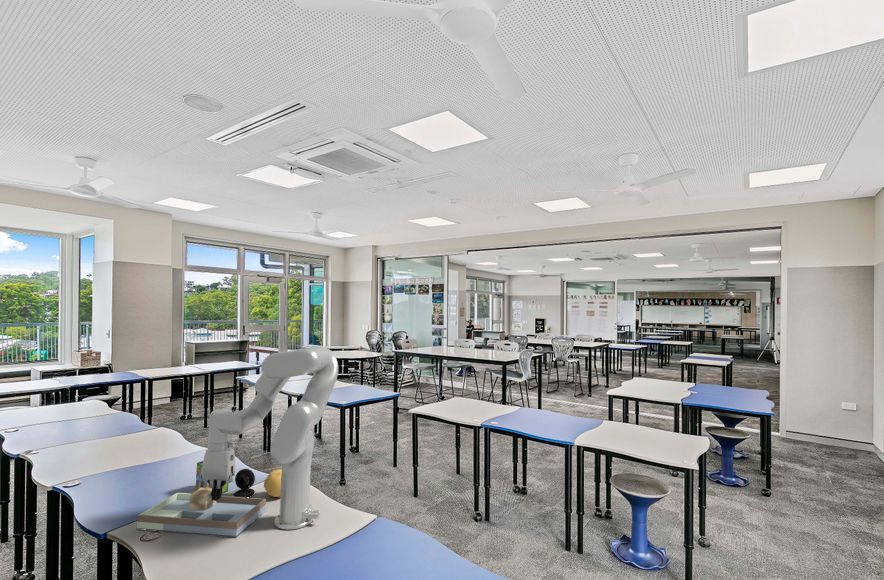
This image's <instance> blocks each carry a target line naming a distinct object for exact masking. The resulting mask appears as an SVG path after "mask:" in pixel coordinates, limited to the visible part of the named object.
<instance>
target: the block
mask: <svg viewBox="0 0 884 580" xmlns="http://www.w3.org/2000/svg"><path fill="white" fill-rule="evenodd" d="M189 494H190V502H189V509H191V510H207V509H208V508H210V507H211V506H213V505H214V504H216V501H215V500H214V501H213V500H212V496H211V494H212V489H211V488H200V489H198V490H197V491H194V492H192V493H189Z"/></svg>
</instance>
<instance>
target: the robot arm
mask: <svg viewBox="0 0 884 580" xmlns="http://www.w3.org/2000/svg"><path fill="white" fill-rule="evenodd" d="M338 363H339V362H338V359H337V357H336V355H335V354H334V352H333V351H332V350H330V349H329V348H328V347H326V346H323V345H322V346H318V345H317V346H312V347H307V348H306V347H305V348H301V349H300V348H299V349H296V350H295V349H294V350H290V351H289V350H288V351H280V352H276V353H270V354H269V355H267V356H266V357H265V358H264V359H263V361H262V363H261V366H260V367H261V373H262V374H260V376H259V377H258V379H257V380H256V381H255V383H254V387H253V388H254V390H255V391H256V395H255V397H254V399H253V400H252V401H251V402H250V404H249V405H248V406H247V407H246V408H244V409H241V410H239V411H238V410H237V411H235V412H233V411H232V410H231V409H227V408H222V409H215V410H213V411H212V412H210V414H209V418H208V419H209V420H208V421H209V422H208V434H207V435H208V437H207V449H206V450H205V451H204V452H205V453H204V455H203V460H202V461H203V466H202V477H203V479H202V480H203V481H205V482H208V484H209V485H210V488H211V489H212V494H211V496H212V500H213V501H214V500H215V501H217V500H218V499H220V498H221V496H223V493H222V488H223V486H224V485H225V484H228V483H229V484H230V483H232V482H233V481H234V478H233V477H235V476H236V455H235V449H234V447H235V445H236V444H235V443H234V442H233V435H234V436H238V435H242V434H244V433H245V432H248V431H250V430H251V429H254V428H256V427H258V426H259V424H261V423H262V421H263V420H264V419H265V418H266V417H267V415H268V414H269V413H270V412H271V410H272V408H273V406H274V404H275V401H276V397H278V394H279V393H280V392H281V390H282V389H283V388H284V386H285V385H286V384H287V382H288V381H289V380H290V379H291V378H292V377H293V378H294V377H298V376H304V375H310V374H312V376H311V378H310V380H309V382H308V383H307V386H306V388H305V391H304V393H303V395H302V397H301V399H300V400H299V401H297V402H296V403H294V404H292V405H290V406H289V407H287V409H286V410H285V412H284V413H283V415H282V418H281V419H280V422H279V424H278V426H277V429H276V431H275V434H274V436H273V438H272V441H271V445H270V450H269V451H270V455H271V459H272V460H273V461H274V463H277V464H279V465H281V469H282V475H281V495H280V497H279V498H280V500H279V514H278V515H276V517H275V518H274V522H273V523H274V526H275V527H276V528H278V529H282V530H297V529H301V528H304V527H307V526H308V525H310V524H311V523H312V522H313V520H319V519H320V517H321V513H320V510H319V509H313V505H312V504H310V494H311V493H310V492H311V491H310V490H311V471H312V470H311V469H312V457H313V451H314V446H315V438H314V433H313V431H312V430H311V428H312V427H314V426H315V425H317V424H318V423H319V422H320V420H321V419H322V417H323V414H324V412H325V409H326V406H327V404H328V402H329V400H330V397H331V394H332V391H333V389H334V387H335V384H336V382H337V380H338V375H339V364H338Z"/></svg>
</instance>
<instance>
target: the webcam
mask: <svg viewBox="0 0 884 580" xmlns="http://www.w3.org/2000/svg"><path fill="white" fill-rule="evenodd" d="M255 475H256V474H255V473H254V472H253V470H251V469H250V468H242V469H239V471H238V472H236V473H235V475H234V481H235V485H236V487H237V488H238V490H236V491H235V492H234V493H233V497H246V498H247V497H249V498H251V497H253V496H254V495H255V493H256V491H255V490H254V489H253V488H252V487H253V485H254V483H255V482H256V476H255ZM249 492H251V493H249ZM252 495H253V496H252ZM250 496H251V497H250Z"/></svg>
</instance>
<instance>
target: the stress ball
mask: <svg viewBox="0 0 884 580" xmlns="http://www.w3.org/2000/svg"><path fill="white" fill-rule="evenodd" d="M281 475H282V468H279V469H275V470H273V471H271V472H270V473H269V474H268V475H267V476H266V478H265V479H264V482H263V488H264V490H265V492H266V493H267V494H268V495H269V496H270V497H273V498H275V497H278V498H280V495H281Z"/></svg>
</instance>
